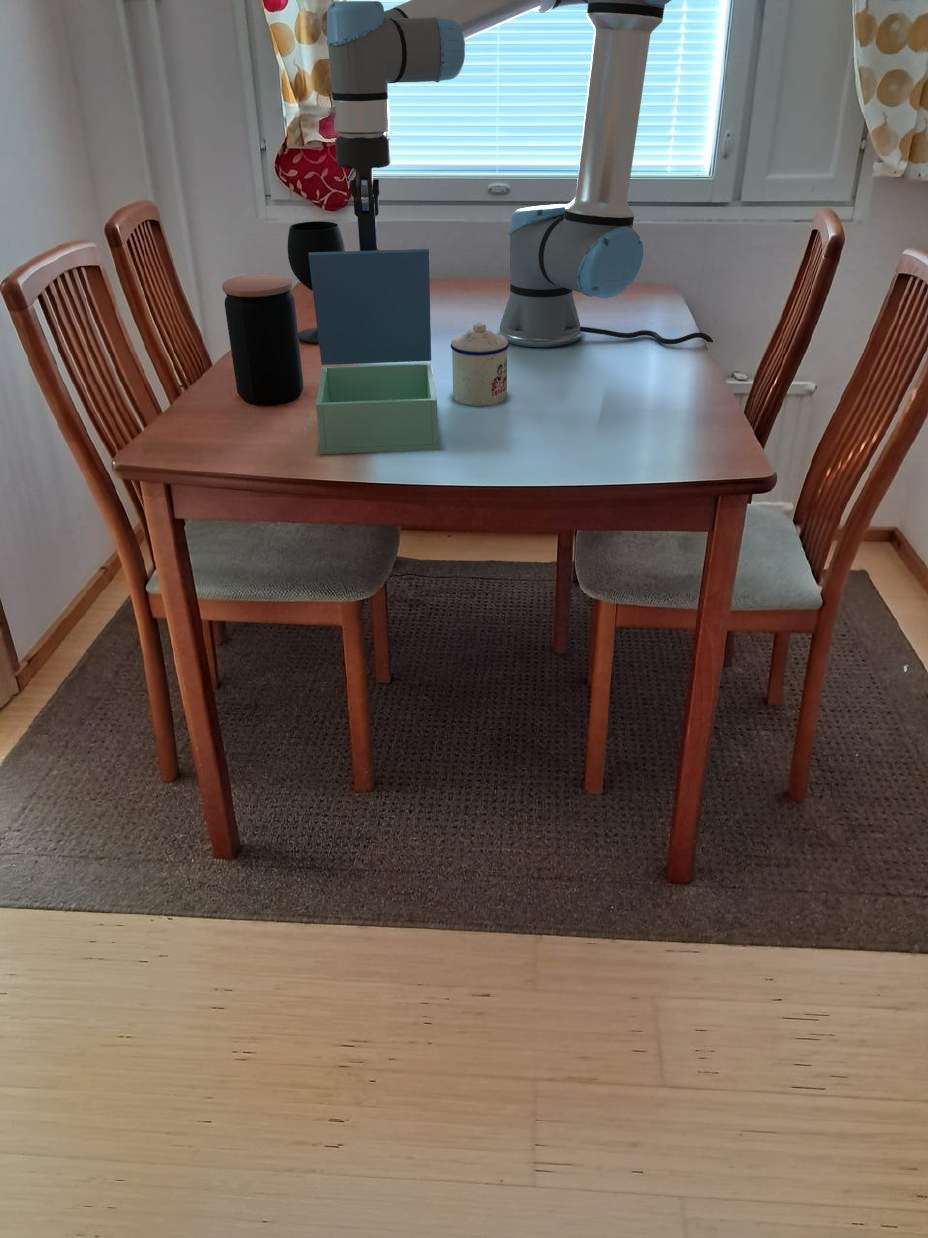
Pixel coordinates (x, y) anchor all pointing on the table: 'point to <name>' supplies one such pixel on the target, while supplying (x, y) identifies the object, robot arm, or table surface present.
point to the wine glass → (299, 245)
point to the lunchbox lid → (372, 305)
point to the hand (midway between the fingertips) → (372, 309)
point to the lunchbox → (377, 408)
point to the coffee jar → (264, 339)
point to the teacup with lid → (479, 367)
